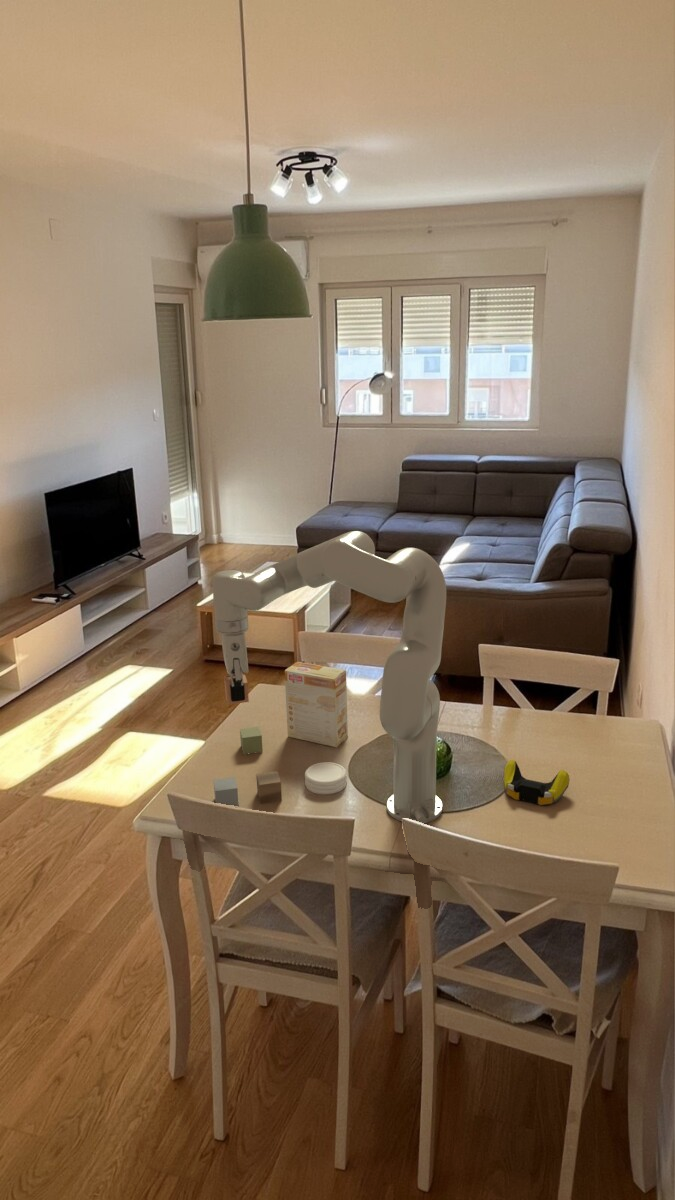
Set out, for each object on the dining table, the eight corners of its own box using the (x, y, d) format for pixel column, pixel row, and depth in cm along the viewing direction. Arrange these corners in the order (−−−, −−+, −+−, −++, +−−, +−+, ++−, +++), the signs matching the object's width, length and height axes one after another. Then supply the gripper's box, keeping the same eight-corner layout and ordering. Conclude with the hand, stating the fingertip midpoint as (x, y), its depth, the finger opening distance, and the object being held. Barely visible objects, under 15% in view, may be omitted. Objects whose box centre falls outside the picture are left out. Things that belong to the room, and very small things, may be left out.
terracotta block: (248, 701, 196) (247, 682, 194) (227, 704, 195) (226, 685, 193) (246, 693, 200) (244, 674, 199) (225, 695, 199) (223, 676, 198)
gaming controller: (506, 776, 200) (495, 797, 191) (507, 756, 198) (496, 776, 190) (569, 790, 194) (561, 811, 185) (571, 769, 192) (562, 790, 183)
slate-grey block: (238, 807, 190) (237, 788, 188) (216, 810, 189) (215, 791, 187) (236, 795, 195) (235, 777, 193) (215, 798, 194) (213, 780, 192)
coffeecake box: (348, 736, 221) (347, 669, 215) (336, 748, 215) (334, 679, 209) (300, 726, 228) (297, 660, 222) (286, 737, 222) (283, 669, 216)
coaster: (354, 780, 200) (354, 767, 199) (332, 800, 192) (331, 786, 191) (320, 770, 205) (319, 757, 204) (297, 788, 197) (296, 775, 196)
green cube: (262, 752, 214) (261, 735, 213) (243, 755, 213) (242, 737, 211) (259, 743, 219) (258, 726, 217) (241, 746, 218) (239, 729, 216)
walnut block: (281, 800, 192) (280, 781, 190) (260, 803, 191) (259, 784, 189) (278, 789, 197) (277, 771, 195) (257, 792, 196) (256, 774, 194)
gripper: (252, 634, 184) (257, 708, 190) (243, 610, 200) (247, 679, 206) (219, 638, 183) (224, 712, 189) (212, 613, 199) (217, 683, 204)
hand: (236, 694), depth 197 cm, fingers closed on terracotta block, 4 cm apart
